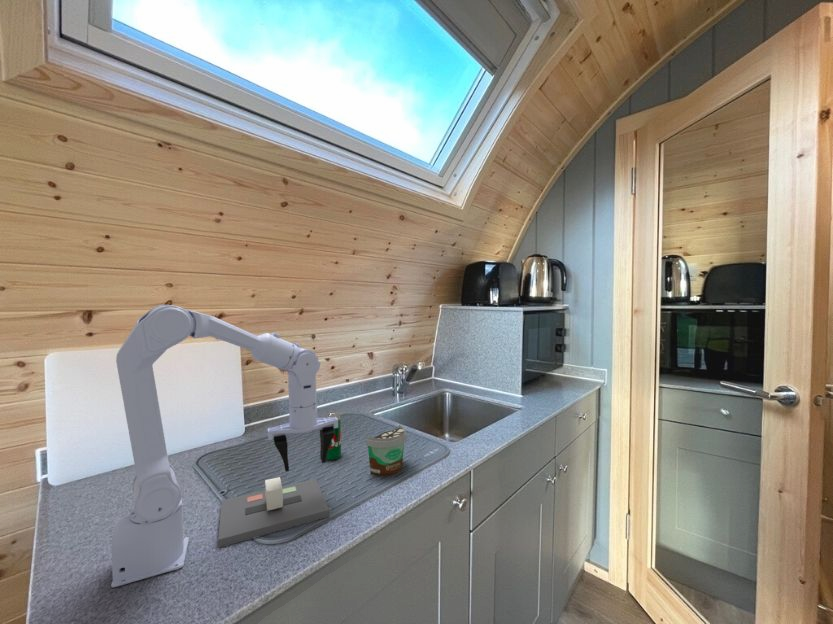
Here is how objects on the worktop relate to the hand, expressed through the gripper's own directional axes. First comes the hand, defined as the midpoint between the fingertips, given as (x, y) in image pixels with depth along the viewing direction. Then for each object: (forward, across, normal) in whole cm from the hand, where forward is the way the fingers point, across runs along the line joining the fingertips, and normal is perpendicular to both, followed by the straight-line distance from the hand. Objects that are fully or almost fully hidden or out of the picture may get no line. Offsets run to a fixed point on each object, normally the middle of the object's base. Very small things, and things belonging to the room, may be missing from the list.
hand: (305, 465), depth 77 cm
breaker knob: (+7, +7, 0) cm, 9 cm away
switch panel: (+9, +7, 0) cm, 11 cm away
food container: (+9, -22, -5) cm, 25 cm away
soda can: (+9, -10, -20) cm, 24 cm away
